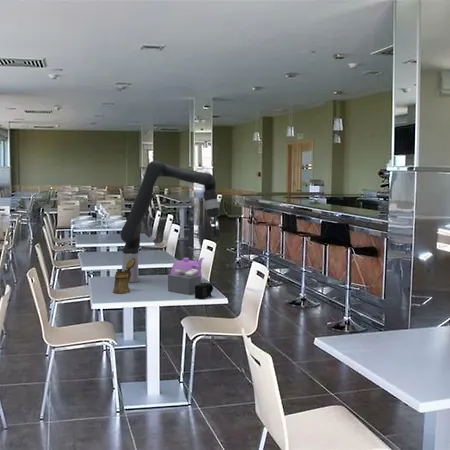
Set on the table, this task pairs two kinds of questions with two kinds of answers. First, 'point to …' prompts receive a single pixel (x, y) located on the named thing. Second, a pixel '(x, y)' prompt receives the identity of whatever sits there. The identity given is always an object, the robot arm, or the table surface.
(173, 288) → the switch box
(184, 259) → the teapot
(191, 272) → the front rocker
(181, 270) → the back rocker
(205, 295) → the digital camera
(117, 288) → the wooden mug
